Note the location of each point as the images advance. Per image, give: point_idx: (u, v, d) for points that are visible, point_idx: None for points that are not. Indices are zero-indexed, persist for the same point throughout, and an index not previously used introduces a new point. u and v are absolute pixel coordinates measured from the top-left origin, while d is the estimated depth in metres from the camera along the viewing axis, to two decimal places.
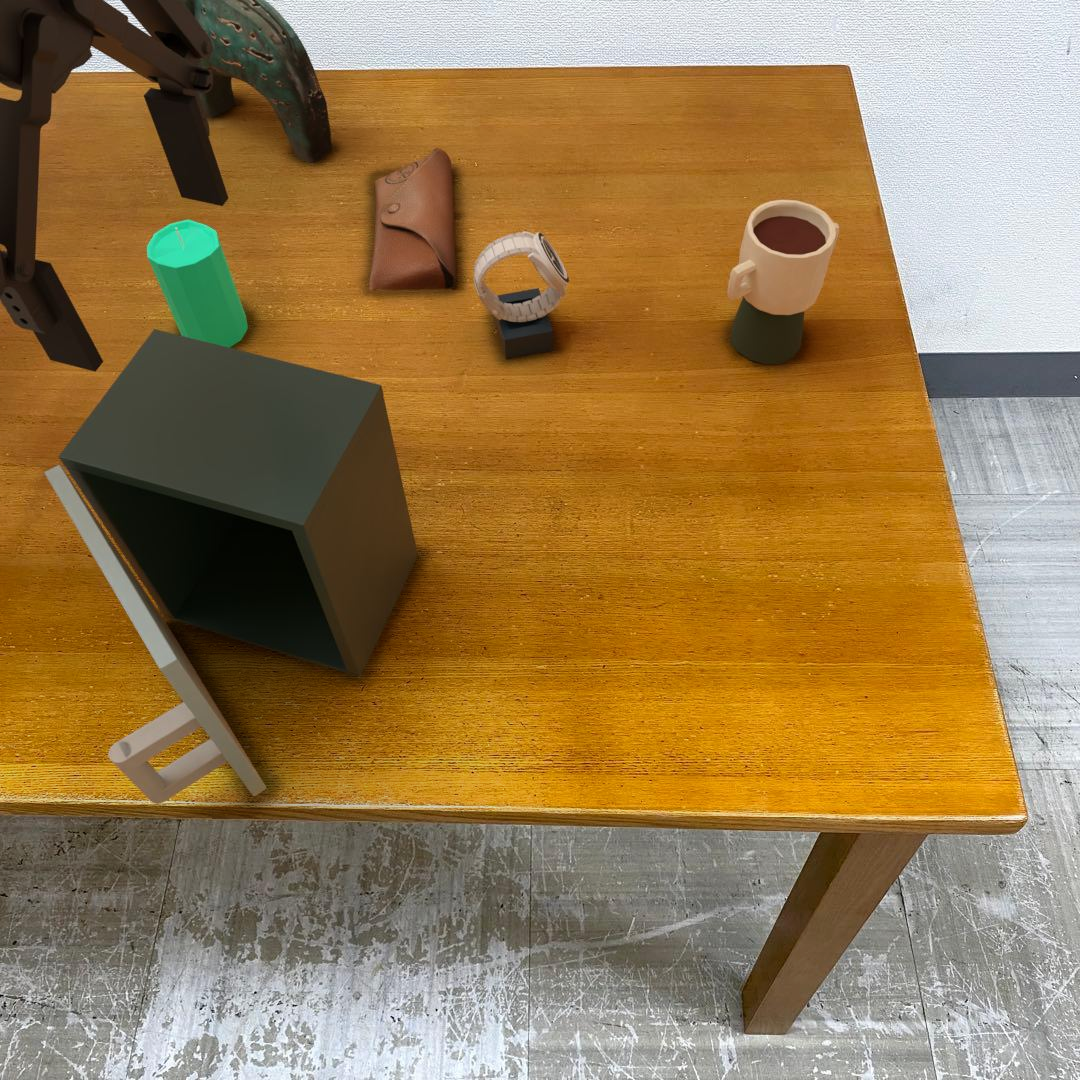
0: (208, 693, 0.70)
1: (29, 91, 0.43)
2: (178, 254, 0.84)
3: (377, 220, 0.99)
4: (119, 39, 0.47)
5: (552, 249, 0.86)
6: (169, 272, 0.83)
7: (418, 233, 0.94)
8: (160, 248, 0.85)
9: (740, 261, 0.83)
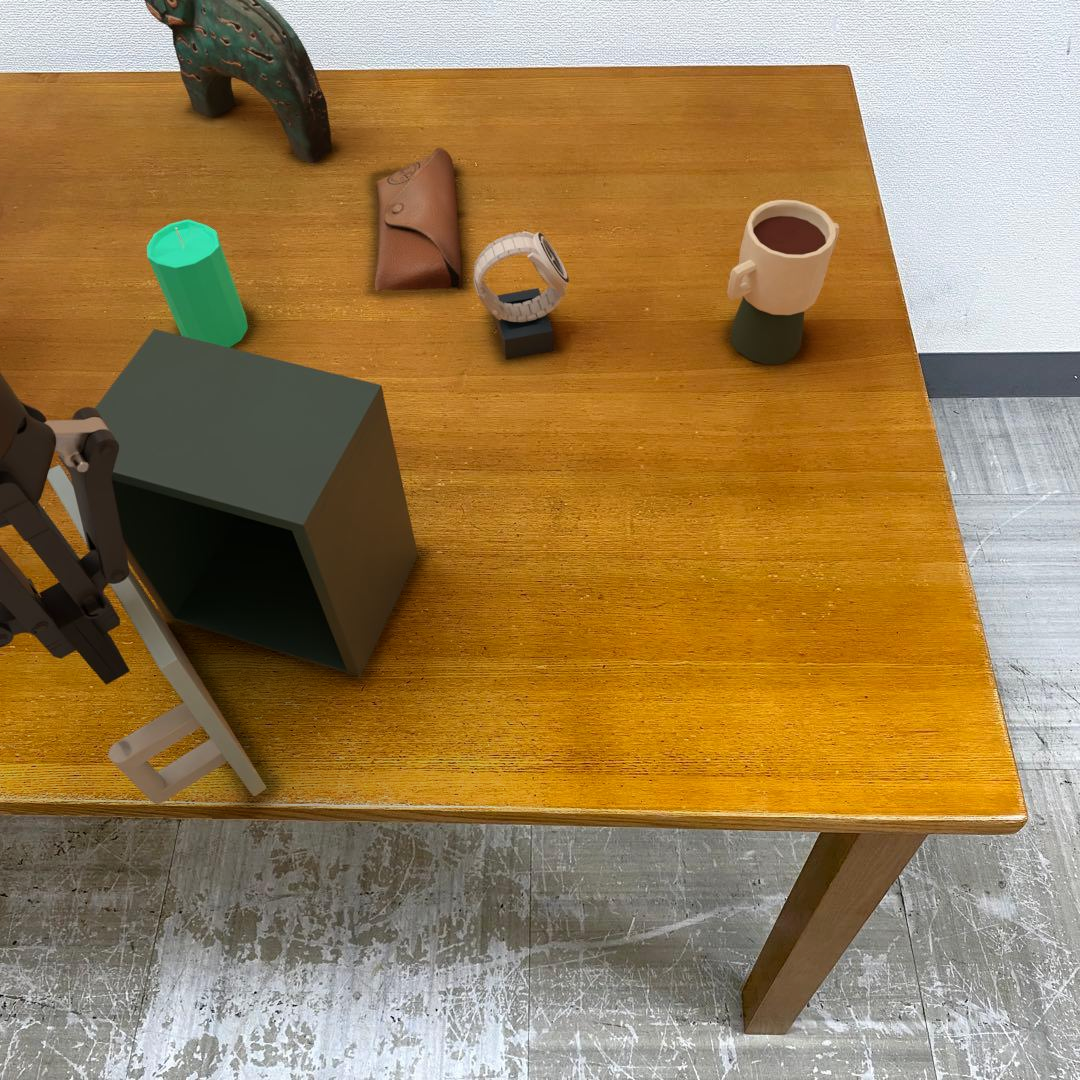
0: (208, 693, 0.70)
1: None
2: (178, 254, 0.84)
3: (381, 221, 0.99)
4: (22, 536, 0.46)
5: (552, 249, 0.86)
6: (169, 272, 0.83)
7: (423, 233, 0.94)
8: (160, 248, 0.85)
9: (740, 261, 0.83)
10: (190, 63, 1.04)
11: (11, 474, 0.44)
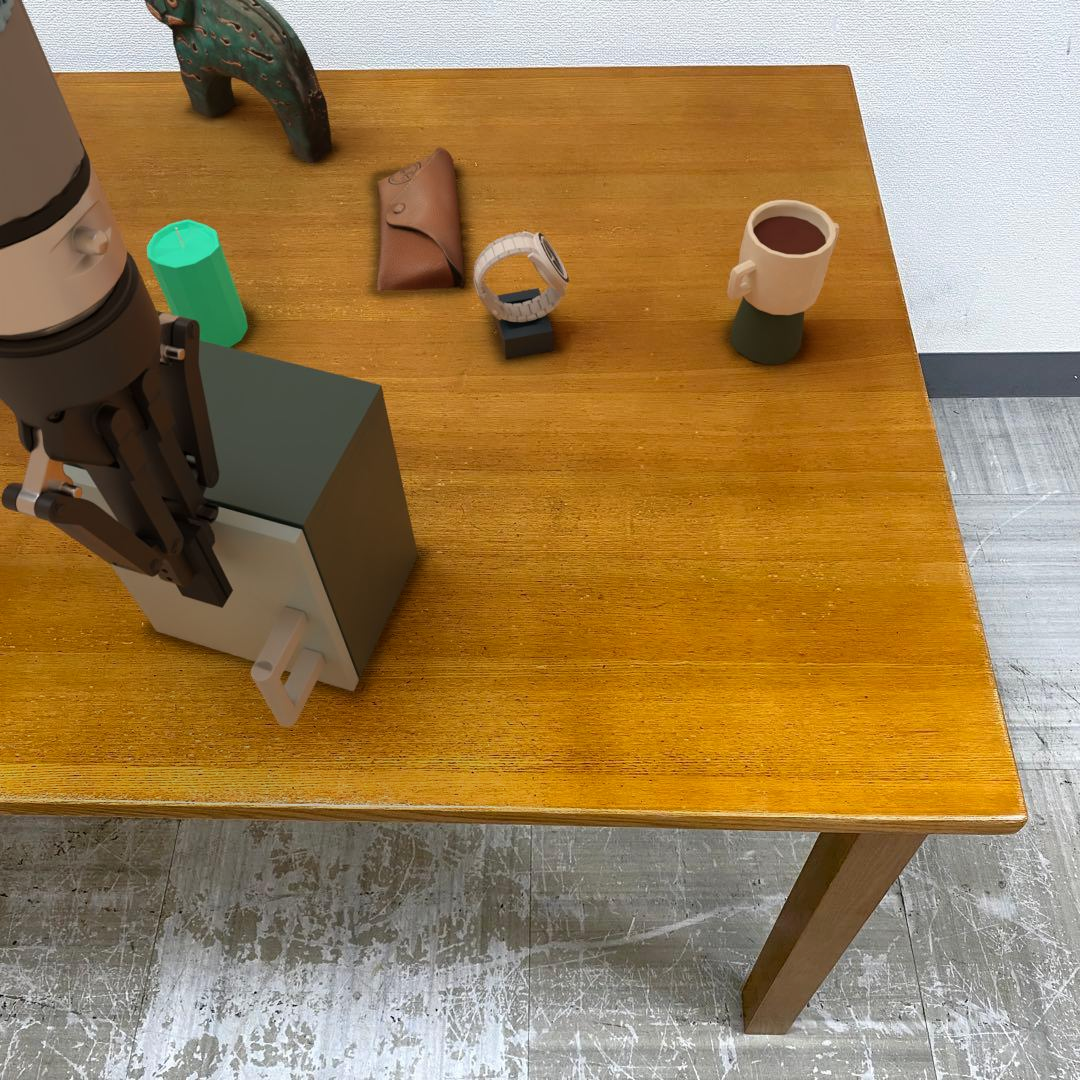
0: None
1: (126, 465, 0.47)
2: (178, 254, 0.84)
3: (382, 221, 0.99)
4: (161, 433, 0.48)
5: (552, 249, 0.86)
6: (169, 272, 0.83)
7: (425, 232, 0.94)
8: (160, 248, 0.85)
9: (740, 261, 0.83)
10: (190, 63, 1.04)
11: None
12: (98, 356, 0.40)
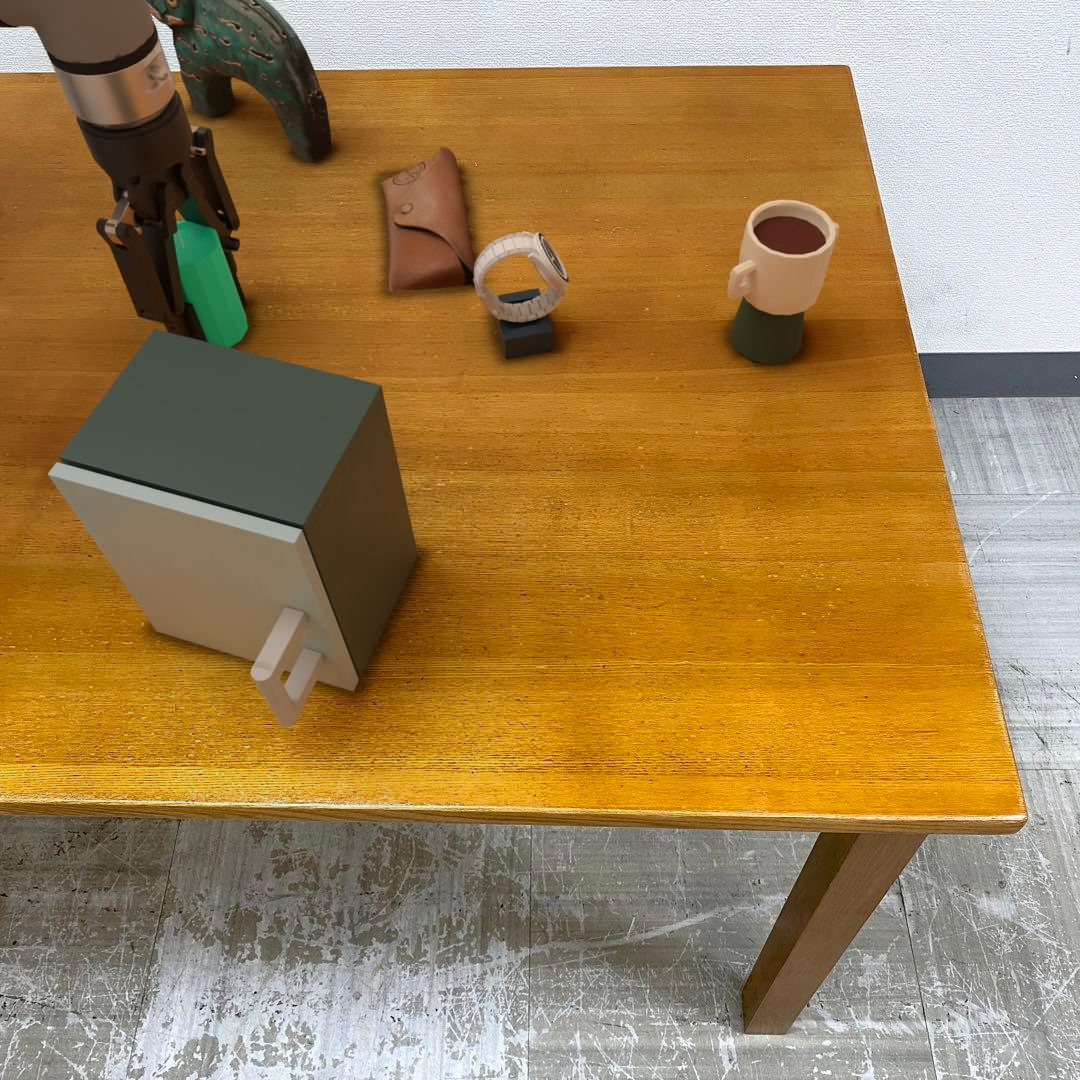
0: None
1: (165, 224, 0.79)
2: (178, 254, 0.84)
3: (390, 221, 0.99)
4: (197, 200, 0.82)
5: (552, 249, 0.86)
6: None
7: (435, 232, 0.94)
8: None
9: (740, 261, 0.83)
10: (190, 63, 1.04)
11: None
12: (160, 142, 0.73)
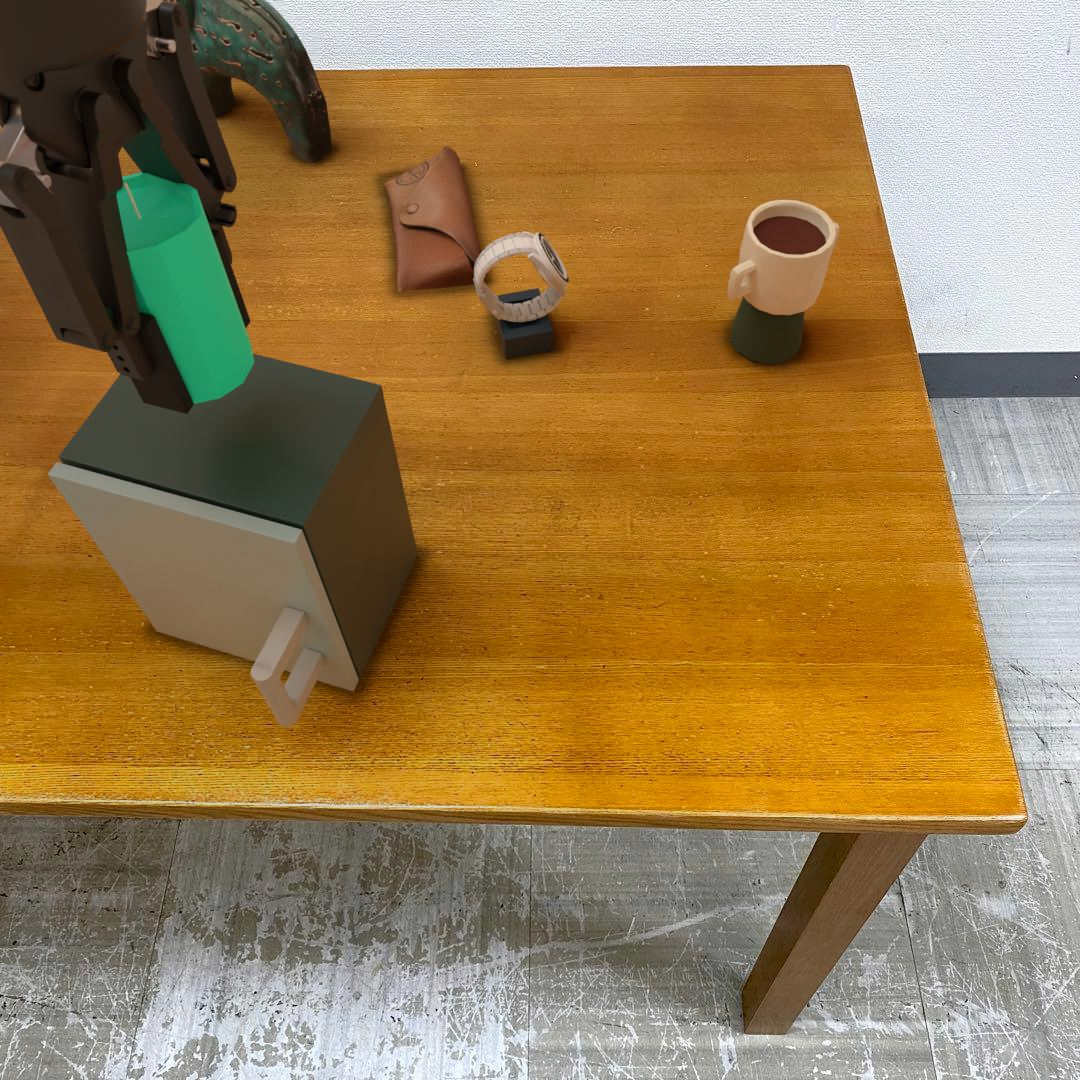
0: None
1: (100, 172, 0.43)
2: (131, 230, 0.48)
3: (395, 222, 0.99)
4: (160, 132, 0.46)
5: (552, 249, 0.86)
6: None
7: (443, 231, 0.94)
8: None
9: (740, 261, 0.83)
10: None
11: None
12: (78, 1, 0.37)
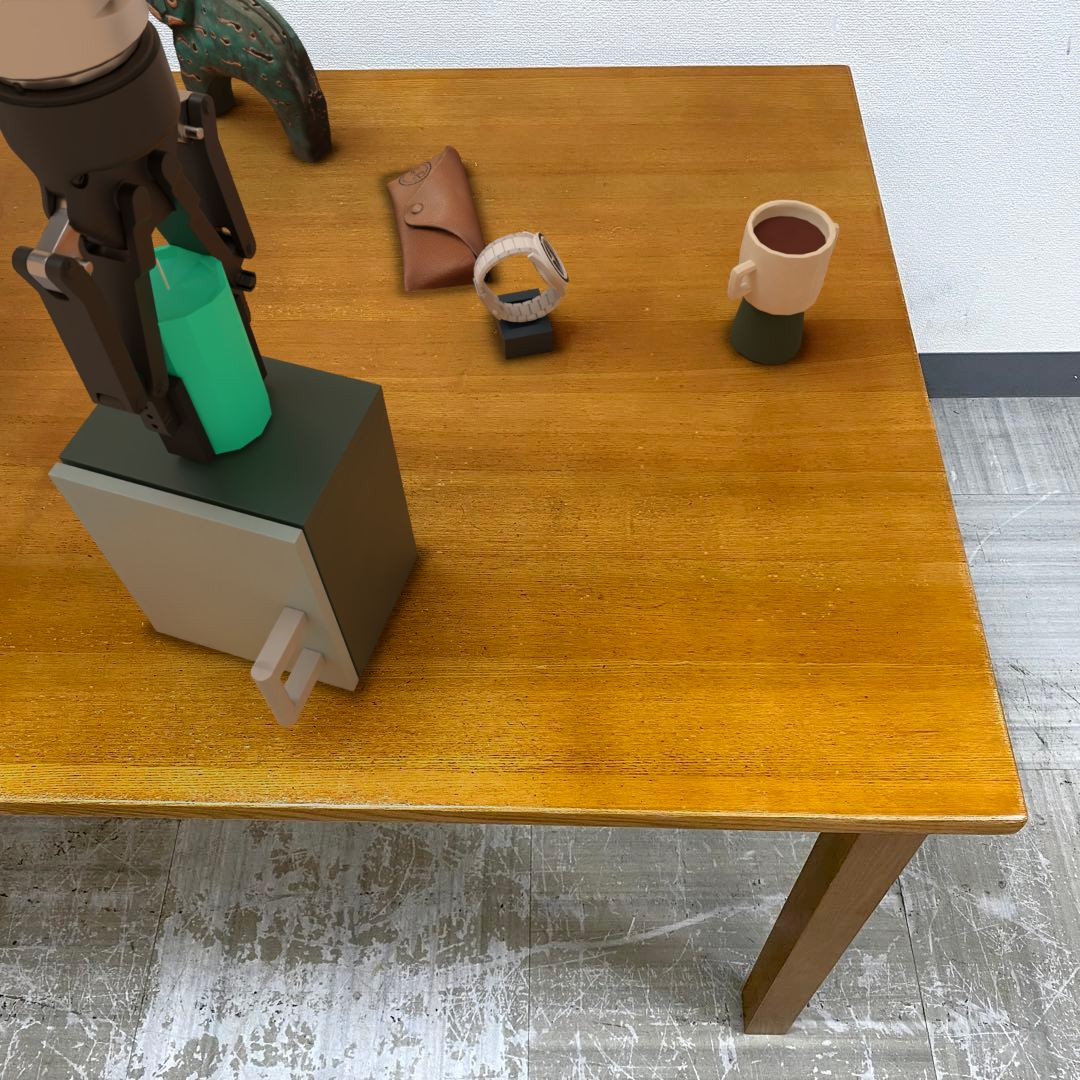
0: None
1: (135, 255, 0.47)
2: (160, 300, 0.52)
3: (400, 222, 0.99)
4: (189, 213, 0.50)
5: (552, 249, 0.86)
6: None
7: (449, 230, 0.94)
8: None
9: (740, 261, 0.83)
10: (190, 63, 1.04)
11: None
12: (122, 112, 0.41)
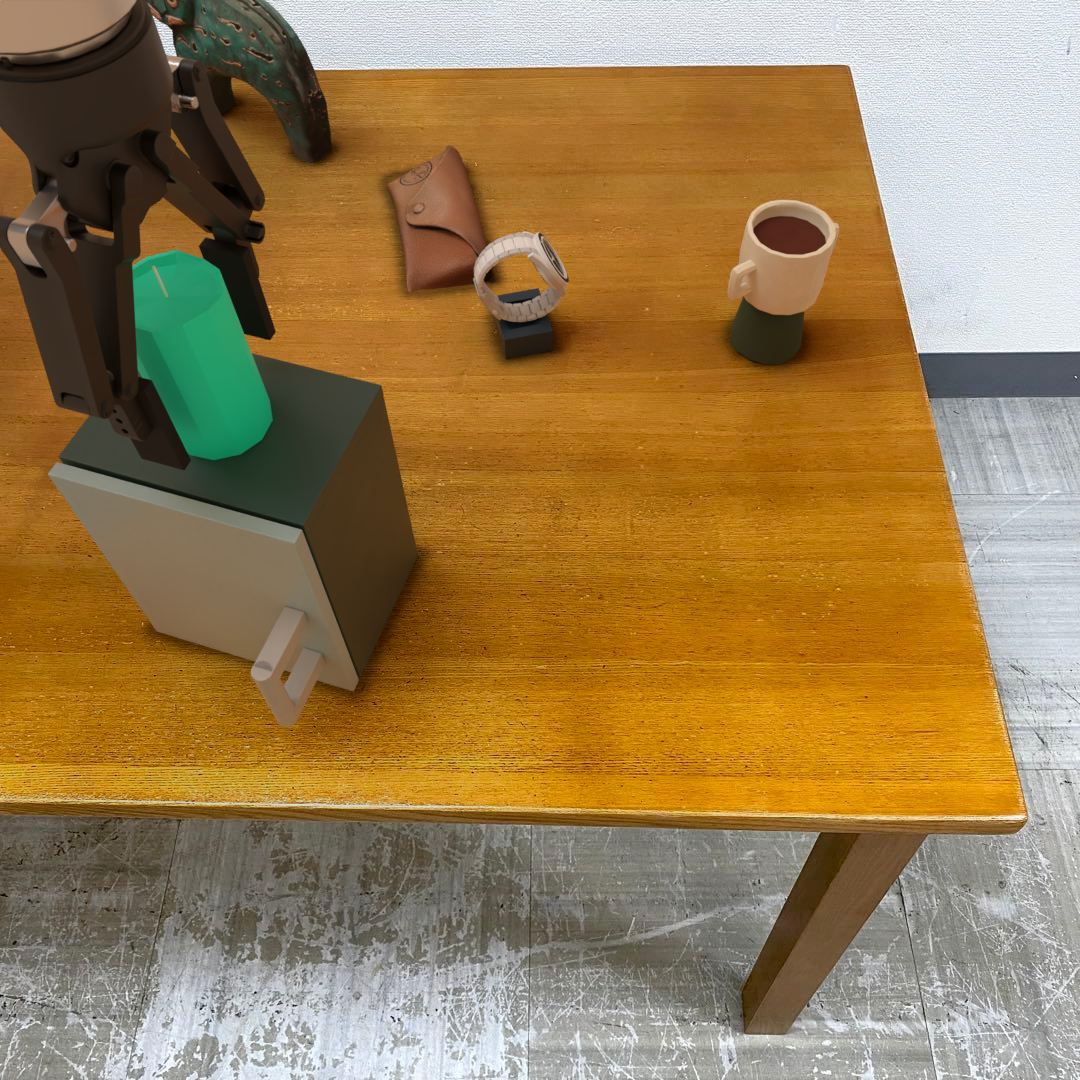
0: None
1: (120, 238, 0.46)
2: (158, 308, 0.52)
3: (401, 222, 0.98)
4: (188, 185, 0.49)
5: (552, 249, 0.86)
6: (141, 339, 0.51)
7: (451, 230, 0.94)
8: None
9: (740, 261, 0.83)
10: None
11: (150, 130, 0.46)
12: (112, 88, 0.40)
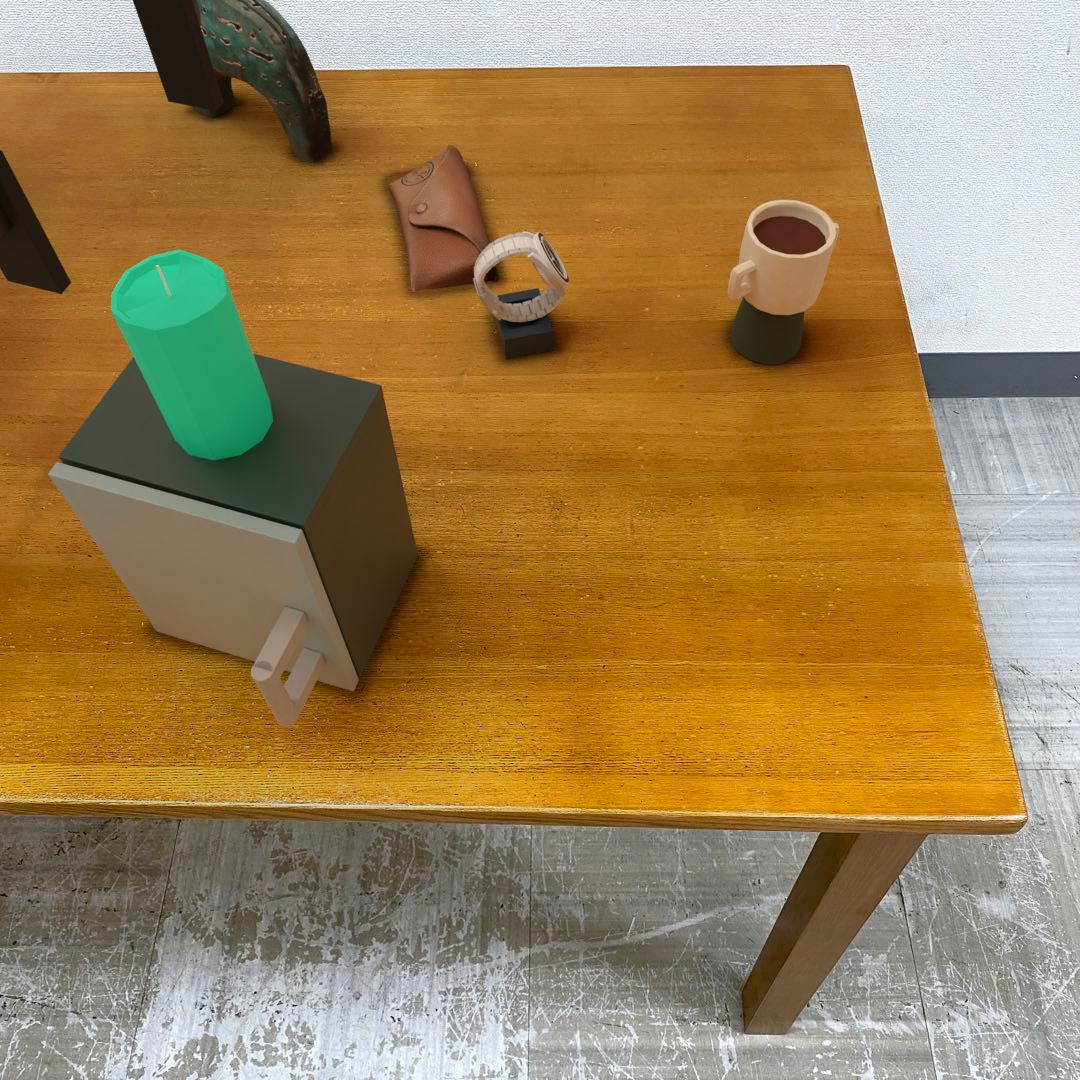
0: None
1: None
2: (162, 307, 0.52)
3: (404, 222, 0.98)
4: None
5: (552, 249, 0.86)
6: (145, 337, 0.51)
7: (454, 229, 0.94)
8: (133, 296, 0.53)
9: (740, 261, 0.83)
10: None
11: None
12: None
